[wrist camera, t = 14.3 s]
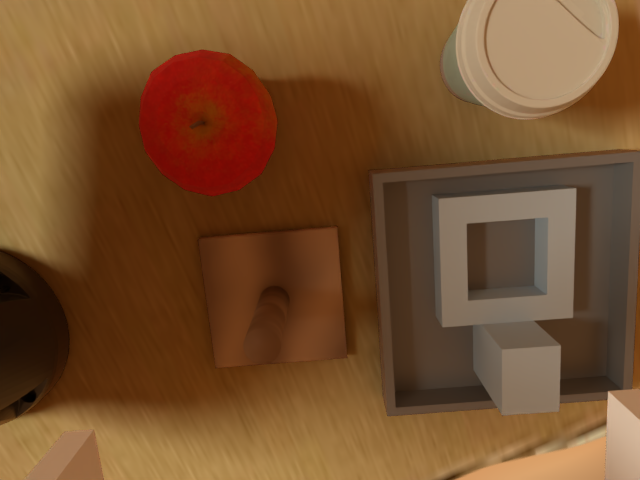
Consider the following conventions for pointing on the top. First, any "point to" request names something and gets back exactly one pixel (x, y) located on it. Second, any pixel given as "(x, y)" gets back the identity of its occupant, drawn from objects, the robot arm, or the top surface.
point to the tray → (505, 276)
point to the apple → (207, 122)
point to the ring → (509, 292)
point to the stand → (274, 296)
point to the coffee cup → (529, 53)
